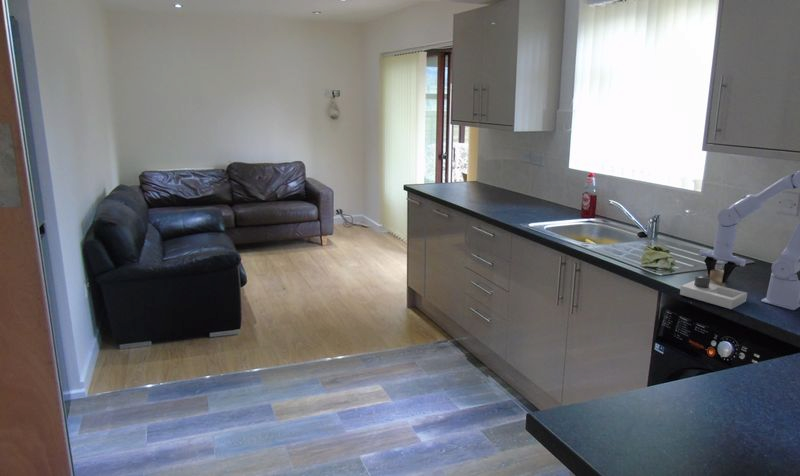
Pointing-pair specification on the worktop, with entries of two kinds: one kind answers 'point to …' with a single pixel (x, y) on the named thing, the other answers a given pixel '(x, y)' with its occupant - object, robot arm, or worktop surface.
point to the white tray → (713, 293)
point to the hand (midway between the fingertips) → (717, 280)
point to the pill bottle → (718, 266)
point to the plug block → (717, 277)
